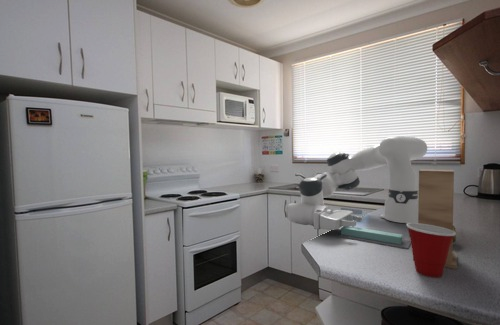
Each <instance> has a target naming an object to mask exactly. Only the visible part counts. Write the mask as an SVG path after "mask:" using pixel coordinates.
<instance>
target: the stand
mask: <svg viewBox="0 0 500 325" xmlns="http://www.w3.org/2000/svg"><path fill="white" fill-rule="evenodd" d="M454 182H455V170H454V169H432V168H431V169H429V168H428V169H427V168H421V169H419V170H418V202H419V203H418V223H420V224H428V225H434V226H439V227H443V228H446V229H450V230H452V231H453V225H454V195H455V194H454V187H455V185H454V184H455V183H454ZM453 245H454V244H453V239H452V241H451V244H450V247H449V251H448V256H447V260H446V263H445V266H444V268H449V269H455V270H457V268H458V260H457V259H458V258H457V254H458V253H455V252H453V250H454V248H453ZM412 258H413V257H412ZM412 260H413V262H414V258H413V259H412Z"/></svg>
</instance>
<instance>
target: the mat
mask: <svg viewBox="0 0 500 325" xmlns="http://www.w3.org/2000/svg"><path fill="white" fill-rule="evenodd" d="M339 237H340V238H345V239H347V240H348V239H349V240H354V241H355V240H356V241H361V242H366V243H372V244H377V245H382V246H387V245H388V247H393V248H398V249H399V248H400V249H404V250H409V248H410V246H411V240H408V239H402V243H401V244H395V243H389V242H383V241H378V240H372V239H366V238H360V237H355V236H349V235H343V234H340V236H339Z"/></svg>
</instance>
